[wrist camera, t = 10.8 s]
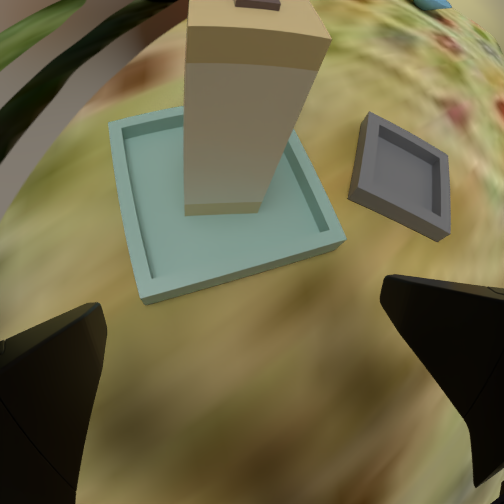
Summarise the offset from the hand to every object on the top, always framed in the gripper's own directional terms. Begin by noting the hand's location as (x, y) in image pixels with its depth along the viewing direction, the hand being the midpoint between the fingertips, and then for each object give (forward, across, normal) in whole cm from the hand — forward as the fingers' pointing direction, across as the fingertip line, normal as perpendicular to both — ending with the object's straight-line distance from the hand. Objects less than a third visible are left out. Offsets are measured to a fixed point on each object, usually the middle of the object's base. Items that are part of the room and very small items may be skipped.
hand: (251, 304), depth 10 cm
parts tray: (+12, 0, +1) cm, 12 cm away
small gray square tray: (+13, +14, +1) cm, 19 cm away
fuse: (+11, 0, +1) cm, 11 cm away
